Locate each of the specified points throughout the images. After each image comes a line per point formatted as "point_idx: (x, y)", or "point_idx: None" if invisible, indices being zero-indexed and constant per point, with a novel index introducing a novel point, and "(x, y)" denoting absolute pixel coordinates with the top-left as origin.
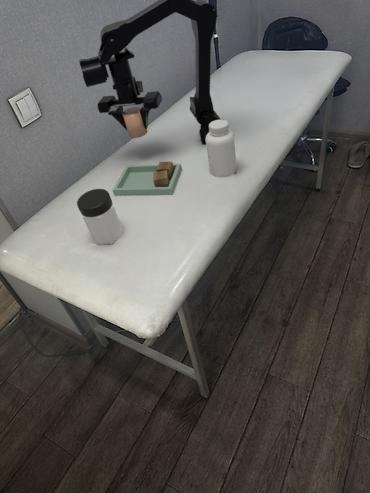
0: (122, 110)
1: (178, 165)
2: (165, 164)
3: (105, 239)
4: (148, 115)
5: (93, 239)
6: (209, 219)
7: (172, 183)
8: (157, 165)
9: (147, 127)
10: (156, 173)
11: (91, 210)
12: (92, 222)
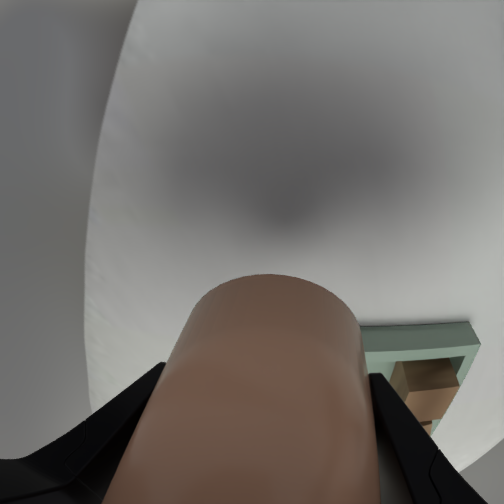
0: (66, 502)
1: (471, 356)
2: (432, 402)
3: None
4: (445, 458)
5: None
6: (478, 446)
7: (435, 426)
8: (388, 358)
9: (380, 374)
10: None
11: None
12: None
